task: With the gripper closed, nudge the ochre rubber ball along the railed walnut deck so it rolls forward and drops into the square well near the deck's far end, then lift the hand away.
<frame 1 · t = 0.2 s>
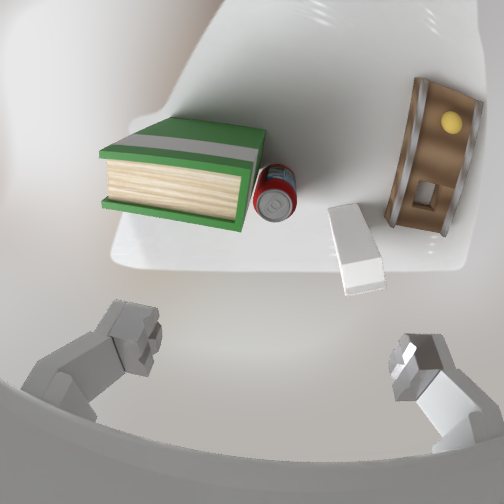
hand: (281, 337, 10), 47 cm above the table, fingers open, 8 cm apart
milk: (344, 219, 58), on the table
deck: (430, 157, 49), on the table
hardback book: (214, 141, 53), on the table
beverage can: (277, 179, 56), on the table
ball: (451, 122, 40), point 5 cm above the table, touching deck
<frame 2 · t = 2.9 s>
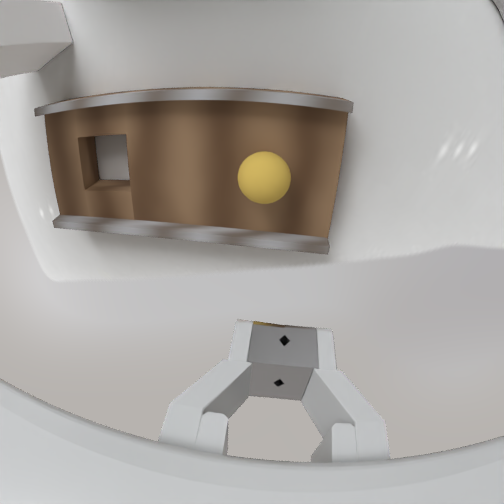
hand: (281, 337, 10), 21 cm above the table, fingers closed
milk: (49, 36, 21), on the table
deck: (182, 155, 28), on the table
ball: (264, 177, 23), point 5 cm above the table, touching deck
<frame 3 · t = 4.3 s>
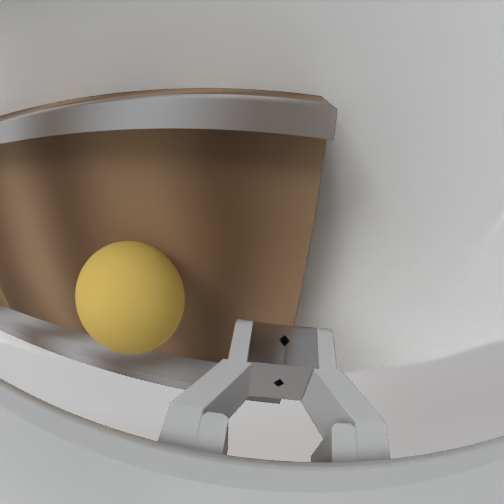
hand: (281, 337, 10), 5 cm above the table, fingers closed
deck: (50, 217, 15), on the table
ball: (129, 297, 10), point 5 cm above the table, touching deck
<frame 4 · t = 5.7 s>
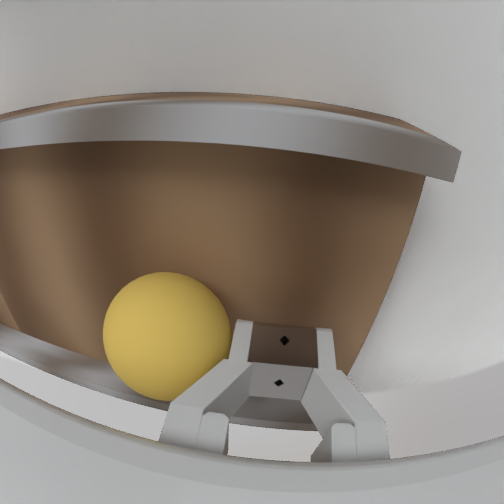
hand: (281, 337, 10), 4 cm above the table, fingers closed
deck: (69, 232, 14), on the table
ball: (166, 336, 9), point 5 cm above the table, tilted 25°, touching deck
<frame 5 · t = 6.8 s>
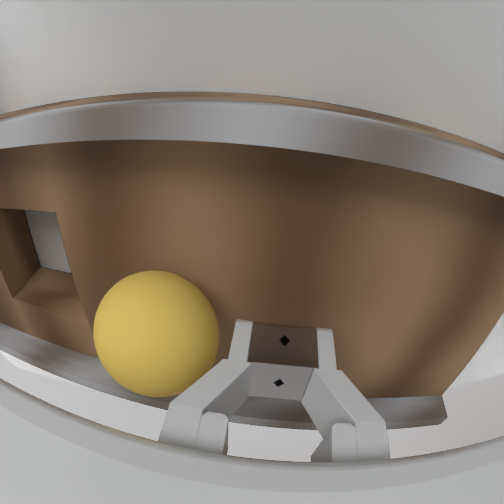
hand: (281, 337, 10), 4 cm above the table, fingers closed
deck: (188, 246, 13), on the table
ball: (155, 334, 9), point 5 cm above the table, tilted 140°, touching deck
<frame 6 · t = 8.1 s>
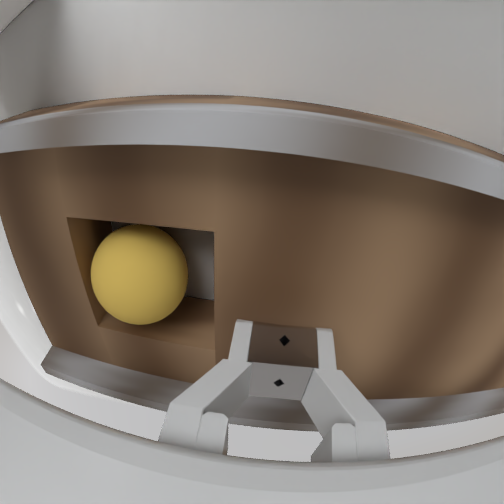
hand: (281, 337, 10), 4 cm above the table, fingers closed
deck: (327, 265, 13), on the table
ball: (139, 274, 12), point 2 cm above the table, tilted 120°
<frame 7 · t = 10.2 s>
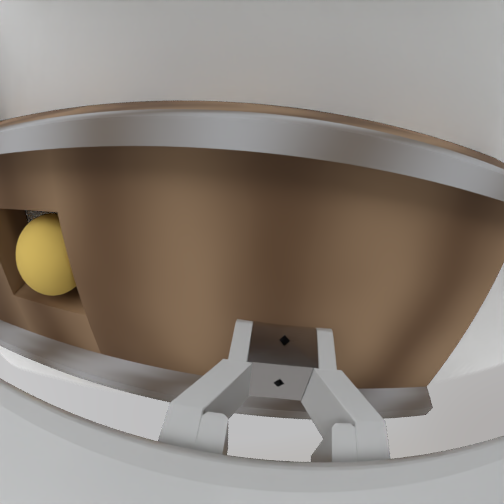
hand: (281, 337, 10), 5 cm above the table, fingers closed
deck: (179, 244, 14), on the table
ball: (52, 254, 13), point 2 cm above the table, tilted 83°
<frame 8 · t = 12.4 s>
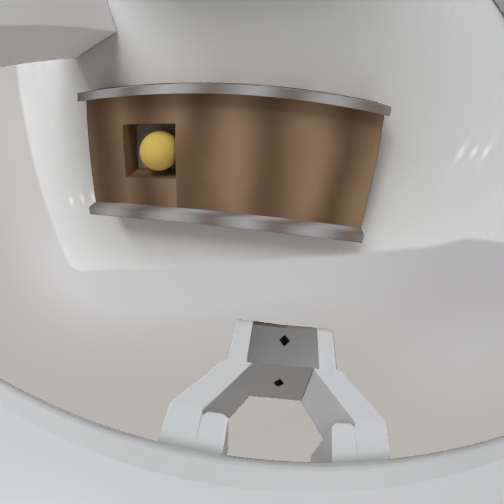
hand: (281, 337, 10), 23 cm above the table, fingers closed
milk: (89, 24, 22), on the table
deck: (226, 147, 29), on the table
ball: (159, 150, 28), point 2 cm above the table, tilted 83°
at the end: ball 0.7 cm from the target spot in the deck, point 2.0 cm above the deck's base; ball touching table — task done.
